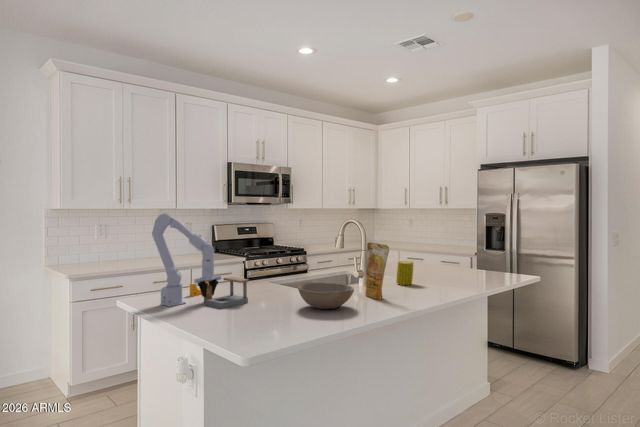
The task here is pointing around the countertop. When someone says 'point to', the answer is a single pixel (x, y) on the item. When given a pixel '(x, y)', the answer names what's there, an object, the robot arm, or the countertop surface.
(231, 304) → the socket plate
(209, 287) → the peg
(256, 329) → the countertop surface
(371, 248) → the pancake mix bag
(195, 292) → the pipe clamp
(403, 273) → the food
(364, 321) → the countertop surface
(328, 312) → the countertop surface
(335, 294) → the bowl
